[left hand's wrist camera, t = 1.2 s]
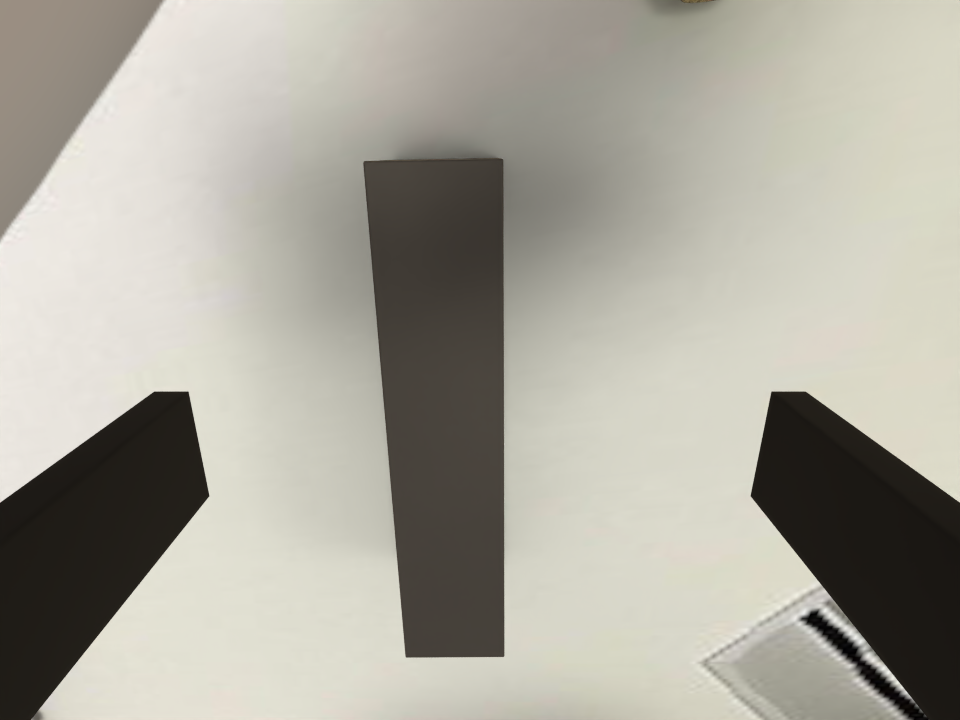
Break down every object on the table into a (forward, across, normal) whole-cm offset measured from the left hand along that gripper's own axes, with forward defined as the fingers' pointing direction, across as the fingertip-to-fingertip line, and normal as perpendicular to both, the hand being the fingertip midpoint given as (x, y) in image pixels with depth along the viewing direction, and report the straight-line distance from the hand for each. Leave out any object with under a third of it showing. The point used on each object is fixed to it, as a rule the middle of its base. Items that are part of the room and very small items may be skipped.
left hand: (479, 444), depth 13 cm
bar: (+22, -2, -8) cm, 23 cm away
